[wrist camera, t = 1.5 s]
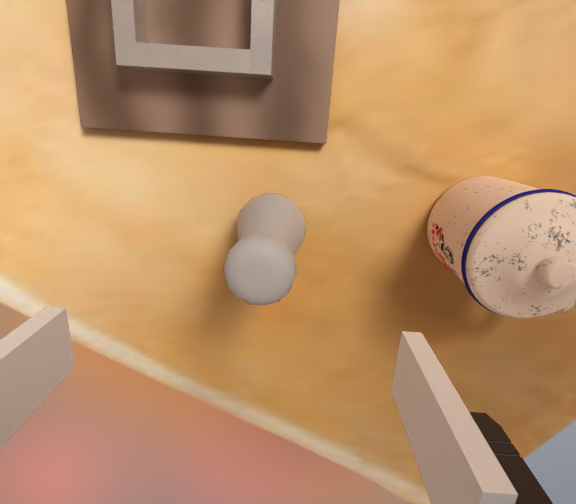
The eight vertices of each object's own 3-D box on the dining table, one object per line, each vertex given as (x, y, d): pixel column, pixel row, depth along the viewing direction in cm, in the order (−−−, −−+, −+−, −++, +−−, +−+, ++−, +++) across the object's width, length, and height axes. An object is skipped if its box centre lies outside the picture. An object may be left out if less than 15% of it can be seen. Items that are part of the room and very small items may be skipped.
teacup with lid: (401, 224, 33) (452, 276, 22) (486, 149, 31) (591, 163, 20) (483, 309, 35) (565, 393, 24) (567, 245, 33) (700, 306, 22)
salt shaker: (239, 247, 34) (205, 317, 22) (242, 186, 32) (206, 224, 20) (302, 253, 34) (303, 326, 22) (308, 191, 32) (313, 234, 20)
